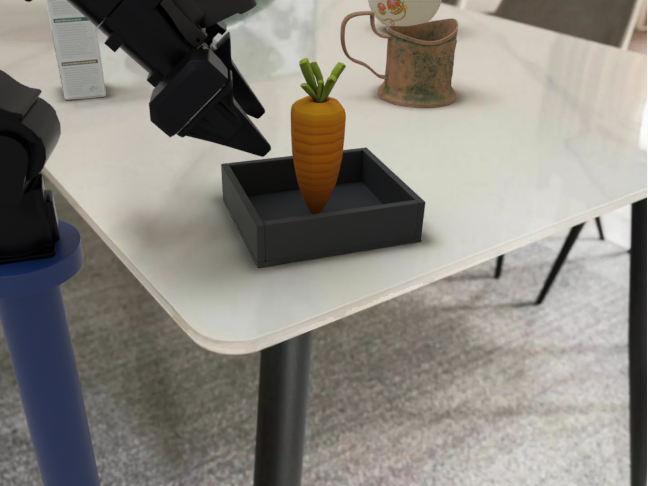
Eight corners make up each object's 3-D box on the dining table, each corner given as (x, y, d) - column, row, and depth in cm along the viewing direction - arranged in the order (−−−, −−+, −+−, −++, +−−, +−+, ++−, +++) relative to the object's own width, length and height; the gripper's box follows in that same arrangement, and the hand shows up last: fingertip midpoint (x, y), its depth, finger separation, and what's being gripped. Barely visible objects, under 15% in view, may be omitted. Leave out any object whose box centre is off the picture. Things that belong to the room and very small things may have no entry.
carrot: (345, 206, 67) (352, 52, 59) (336, 230, 62) (343, 67, 55) (295, 201, 67) (297, 48, 60) (284, 224, 63) (283, 62, 56)
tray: (257, 268, 57) (256, 226, 55) (222, 200, 68) (220, 163, 66) (421, 241, 62) (425, 201, 60) (364, 182, 73) (366, 147, 71)
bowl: (345, 29, 136) (347, -24, 131) (398, 19, 146) (402, -31, 141) (405, 45, 126) (410, -12, 121) (458, 33, 136) (464, -20, 131)
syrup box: (107, 97, 95) (92, -13, 88) (63, 101, 93) (44, -11, 86) (102, 85, 100) (88, -20, 93) (60, 88, 98) (42, -18, 90)
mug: (328, 87, 102) (331, 4, 96) (437, 81, 106) (446, 1, 100) (350, 112, 92) (354, 21, 86) (469, 105, 96) (481, 17, 90)
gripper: (185, -65, 43) (348, 103, 50) (195, -88, 59) (317, 41, 66) (74, 60, 46) (243, 202, 53) (112, 5, 62) (238, 120, 69)
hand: (264, 132), depth 60 cm, fingers open, 9 cm apart
